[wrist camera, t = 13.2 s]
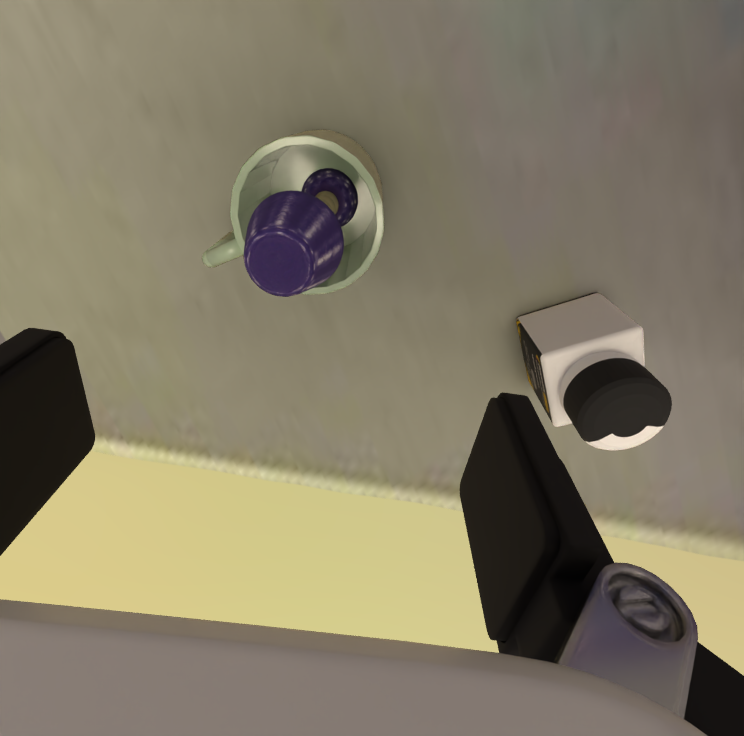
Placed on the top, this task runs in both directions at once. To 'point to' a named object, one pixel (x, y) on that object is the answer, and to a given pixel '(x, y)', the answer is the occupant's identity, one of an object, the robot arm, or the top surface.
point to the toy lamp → (300, 234)
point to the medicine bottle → (593, 372)
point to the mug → (289, 172)
